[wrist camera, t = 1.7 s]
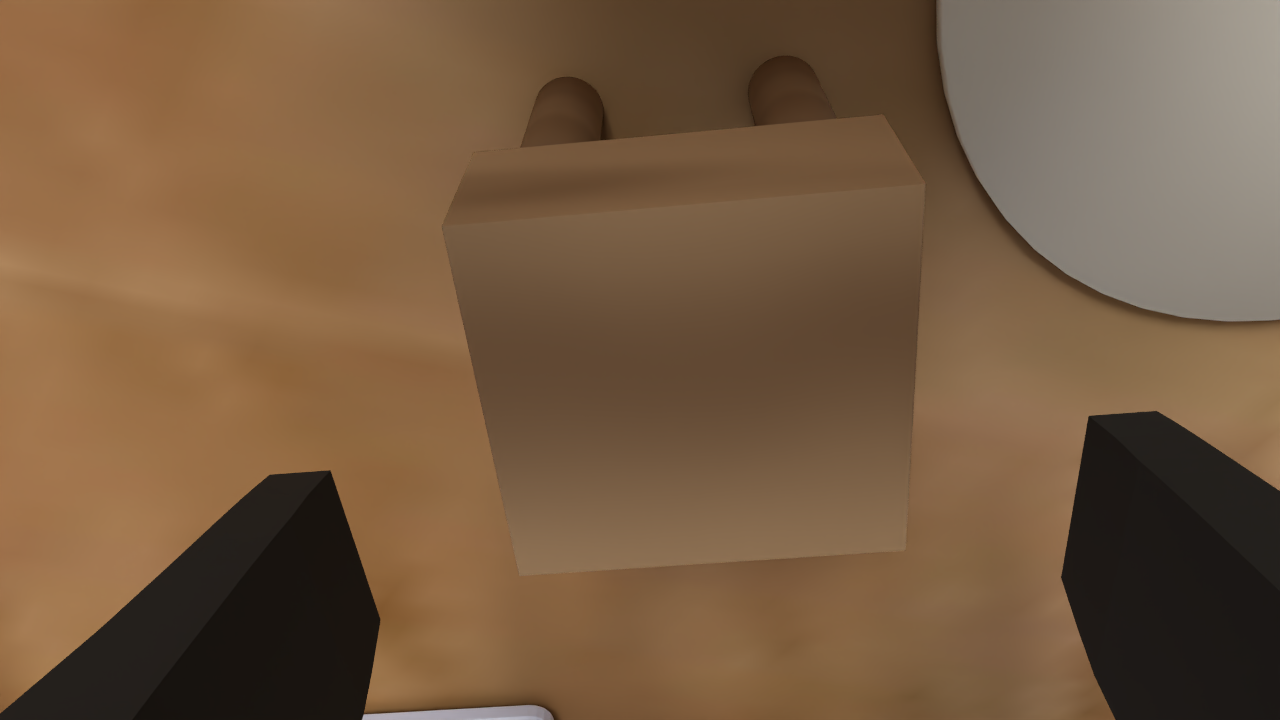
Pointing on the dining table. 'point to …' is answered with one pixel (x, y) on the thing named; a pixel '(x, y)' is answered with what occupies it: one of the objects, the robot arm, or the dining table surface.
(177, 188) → the dining table surface
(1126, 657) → the robot arm
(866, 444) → the stool
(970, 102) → the mat
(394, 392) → the dining table surface
